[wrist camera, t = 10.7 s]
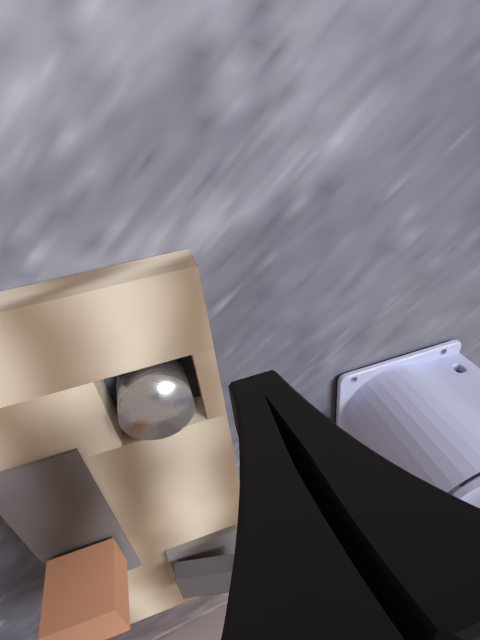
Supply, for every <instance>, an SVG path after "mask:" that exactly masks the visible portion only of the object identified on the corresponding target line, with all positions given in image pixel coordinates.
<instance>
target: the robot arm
mask: <svg viewBox="0 0 480 640" xmlns="http://www.w3.org/2000/svg"><path fill="white" fill-rule="evenodd" d="M460 348H461V343H460V342H459V341H458V340H451V341H448V342H445V343H441V344H438V345H435V346H432V347H429V348H425V349H422V350H419V351H416V352H412V353H409V354H406V355H403V356H399V357H396V358H393V359H390V360H387V361H383V362H380V363H377V364H374V365H370V366H367V367H364V368H361V369H357V370H354V371H351V372H348V373H344V374H342V375H341V376H340V377H339V379H338V387H337V410H336V424H335V423H334V422H332V421H331V420H330V419H329V418H327V417H326V416H325V415H324V414H322V413H321V412H320V411H319V410H318V409H316V408H315V407H314V406H313V405H311V404H310V403H309V402H308V401H307V400H306V399H304V398H303V397H302V396H301V395H300V394H299V393H298V392H297V391H295V390H294V389H293V388H292V387H291V386H290V385H289V384H288V383H287V382H286V381H285V380H284V379H283V378H282V377H281V376H280V375H279V374H278V373H277V372H275V371H273V370H271V371H267V372H264V373H261V374H257V375H254V376H250V377H247V378H244V379H240V380H237V381H234V382H231V384H230V385H229V392H230V398H231V403H232V409H233V414H234V420H235V425H236V430H237V433H238V436H239V449H240V488H239V508H238V522H237V533H236V544H235V553H234V562H233V569H232V576H231V583H230V590H229V597H228V604H227V610H226V616H225V623H224V628H223V634H222V638H221V640H480V369H479V368H478V367H477V366H476V365H474V364H473V363H472V362H471V361H469V360H468V359H467V358H465V357H464V356H463V355H462V354H460V353H459V352H460Z"/></svg>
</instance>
